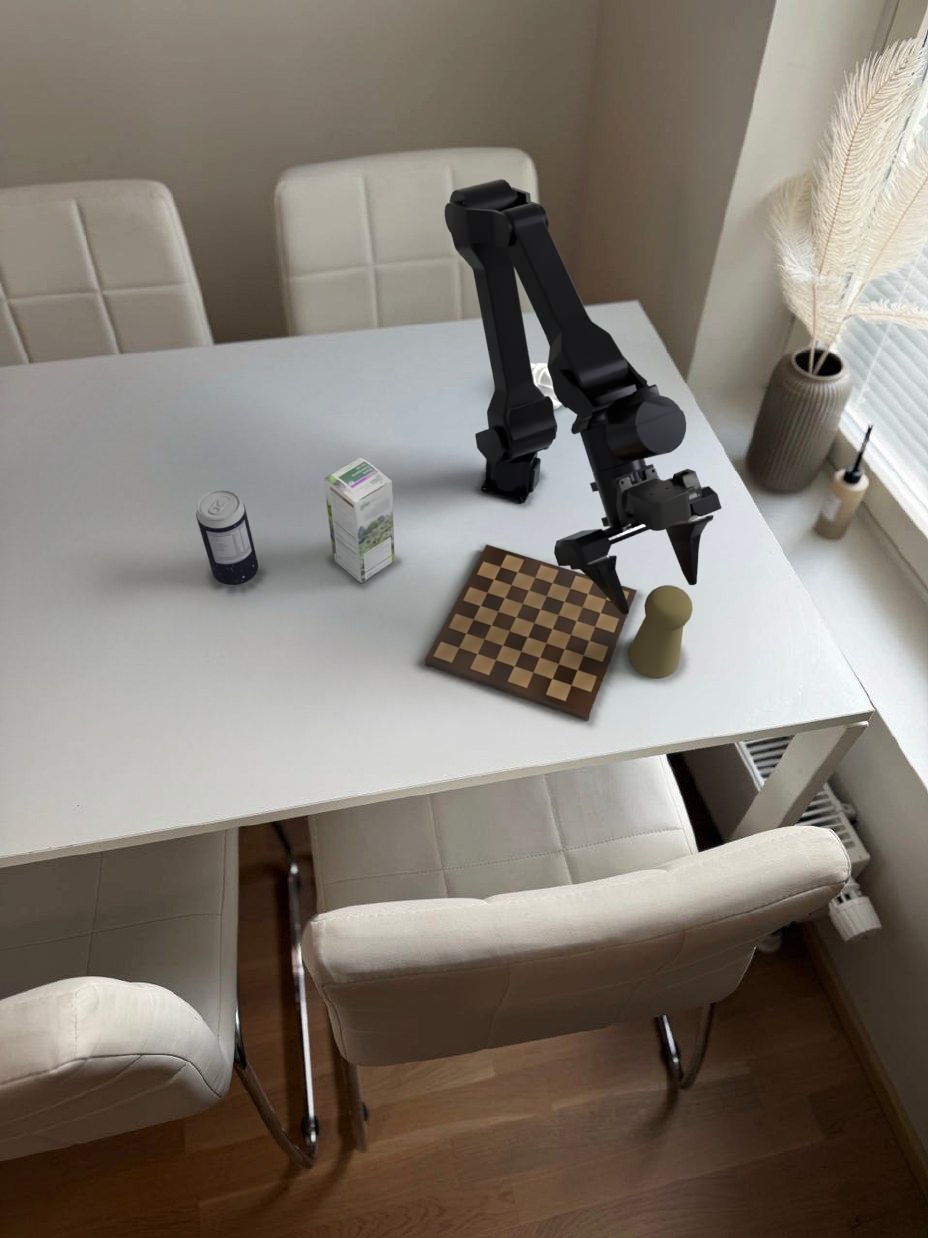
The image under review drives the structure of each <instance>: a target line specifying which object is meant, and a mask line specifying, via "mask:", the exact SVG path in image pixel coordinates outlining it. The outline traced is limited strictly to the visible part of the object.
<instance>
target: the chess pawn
mask: <svg viewBox="0 0 928 1238" xmlns="http://www.w3.org/2000/svg"><path fill="white" fill-rule="evenodd" d="M692 614H693V601H692V599H691V598H690V595H689V594H688V592H686V591H685V590H684V589H682V588H680V587H678V586H676V585H672V584H671V585H669V584H665V585H660V586H658V587H656V588H654V589H652V590H651V591H650V592H649V594H648V595H647V596H646V598H645V601H644V615H645V616H644V618H643V620H642V622H641V624H640V626H639V628H638V630H637V632H636V634H635V636H634V638H633V640H632V642H631V644H630V646H629V648H628V652H627V658H628V662H629V664H630V665H631V667H632V668H633V669H634V670H635V672H637V673H639V674H640V675H641V676H644V677H647V678H649V679H663V678H668V677H670V676H671V675H673V674H674V673H675V672H676V671H677V669H678V668H679V665H680V657H681V649H682V640H683V634H684V633H683V632H684V627H685V625H687V623H688V622H689V621H690V620H691V617H692Z"/></svg>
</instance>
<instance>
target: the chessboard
mask: <svg viewBox="0 0 928 1238" xmlns="http://www.w3.org/2000/svg"><path fill="white" fill-rule="evenodd" d="M621 586H622V589H623V592H624V594H625V597H626V600H627V604H628V609H629V614H630V611H631V610H632V606H633V604H634V601H635V599H636V596H637V592H638V591H637V589H635V588H631V587H628V586H624V585H621ZM629 614H627V615H624V614H622V613H621V612H620V611H619V610H618V609H617V608H616V607H615V605H614V604H613V603H612V602H611V601H610V600H609V599H608V597H607V596H606V595H605V594H604V593H603V592H602V590H601V589H600V588H599V587H598V586H597V585H596V584H595V583H594V582H593V581H592V580H591V579H590V578H589V577H588V576H586V575H585V574H584V573H583V572H582V573H581V572H578V571H575V570H572V569H568V568H567V567H566V568H565V567H563V566H558V565H556V564H552V563H549V562H546V561H542V560H540V559H536V558H532V557H530V556H527V555H522V554H519V553H517V552H513V551H509V550H507V549H503V548H500V547H497V546H492V545H490V544H485V546H484V548H483V549H482V552H481V554H480V555H479V557H478V559H477V561H476V563H475V565H474V566H473V569H472V571H471V573H470V574H469V576H468V578H467V579H466V582H465V583H464V585H463V587H462V589H461V591H460V593H459V594H458V597H457V598H456V600H455V602H454V604H453V606H452V608H451V609H450V612H449V613H448V615H447V617H446V619H445V620H444V623H443V624H442V627H441V628H440V630H439V632H438V634H437V636H436V637H435V639H434V641H433V643H432V645H431V647H430V648H429V651H428V652H427V654H426V656H425V658H424V667H425V666H426V667H428V668H432V669H434V670H438V671H441V672H443V673H446V674H449V675H451V676H455V677H458V678H461V679H464V680H466V681H470V682H473V683H476V684H479V685H481V686H484V687H487V688H489V689H493V690H496V691H499V692H502V693H504V694H508V695H511V696H514V697H515V698H519V699H522V700H526V701H528V702H532V703H534V704H537V705H539V706H542V707H545V708H548V709H551V710H555V711H557V712H560V713H562V714H563V713H564V714H566V715H569V716H572V717H575V718H578V719H580V720H583V721H587V722H588V721H590V719H591V715H592V713H593V710H594V707H595V705H596V703H597V699H598V697H599V694H600V692H601V689H602V687H603V683H604V681H605V678H606V676H607V673H608V670H609V668H610V665H611V662H612V659H613V657H614V654H615V652H616V649H617V646H618V644H619V641H620V639H621V635H622V633H623V630H624V628H625V625H626V623H627V620H628V617H629Z"/></svg>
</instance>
